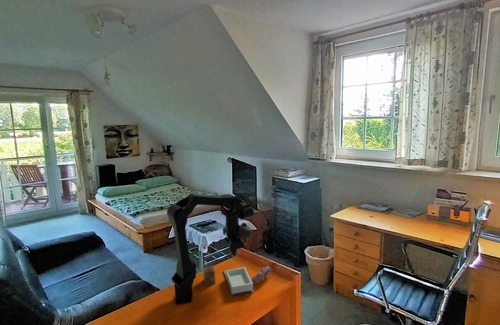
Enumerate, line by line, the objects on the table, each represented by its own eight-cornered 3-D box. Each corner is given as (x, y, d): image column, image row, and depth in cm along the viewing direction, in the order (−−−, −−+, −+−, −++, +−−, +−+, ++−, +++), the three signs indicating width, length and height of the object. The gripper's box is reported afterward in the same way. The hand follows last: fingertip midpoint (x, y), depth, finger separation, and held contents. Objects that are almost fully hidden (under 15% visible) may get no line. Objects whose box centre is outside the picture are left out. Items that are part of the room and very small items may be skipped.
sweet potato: (257, 288, 129) (263, 277, 126) (249, 281, 131) (255, 270, 128) (269, 277, 137) (274, 267, 134) (261, 271, 139) (266, 260, 136)
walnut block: (205, 285, 130) (204, 272, 129) (204, 279, 134) (203, 267, 133) (215, 283, 131) (214, 271, 130) (213, 277, 135) (213, 266, 134)
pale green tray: (232, 295, 121) (231, 287, 120) (226, 277, 134) (225, 270, 133) (253, 291, 123) (253, 283, 123) (245, 274, 136) (244, 267, 135)
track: (232, 296, 121) (232, 295, 121) (223, 271, 140) (223, 270, 140) (253, 292, 124) (253, 290, 124) (241, 268, 143) (241, 267, 142)
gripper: (255, 227, 124) (256, 261, 127) (244, 213, 142) (245, 243, 145) (229, 231, 122) (231, 266, 124) (221, 216, 139) (223, 246, 142)
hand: (233, 254), depth 134 cm, fingers closed
